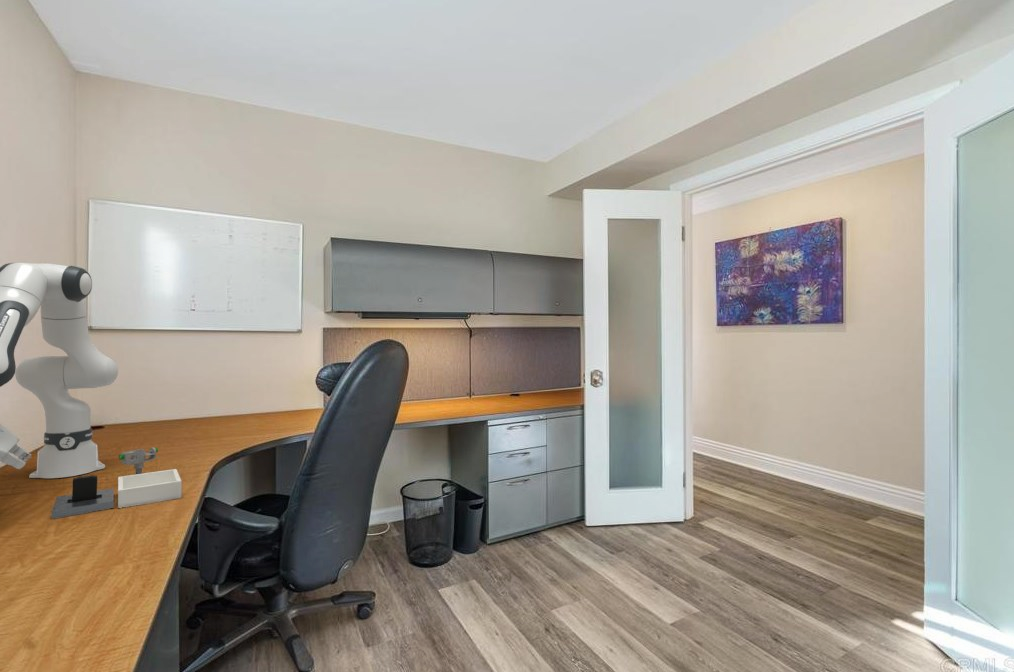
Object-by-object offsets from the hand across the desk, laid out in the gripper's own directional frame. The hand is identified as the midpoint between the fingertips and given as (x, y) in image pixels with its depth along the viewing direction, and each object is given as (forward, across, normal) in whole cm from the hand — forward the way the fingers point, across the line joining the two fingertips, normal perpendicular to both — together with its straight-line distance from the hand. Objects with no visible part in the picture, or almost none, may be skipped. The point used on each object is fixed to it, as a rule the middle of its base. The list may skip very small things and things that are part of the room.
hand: (26, 462), depth 123 cm
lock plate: (+18, 0, +2) cm, 18 cm away
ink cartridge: (+18, 0, +2) cm, 18 cm away
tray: (+28, 0, -8) cm, 29 cm away
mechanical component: (+26, +18, -7) cm, 33 cm away
